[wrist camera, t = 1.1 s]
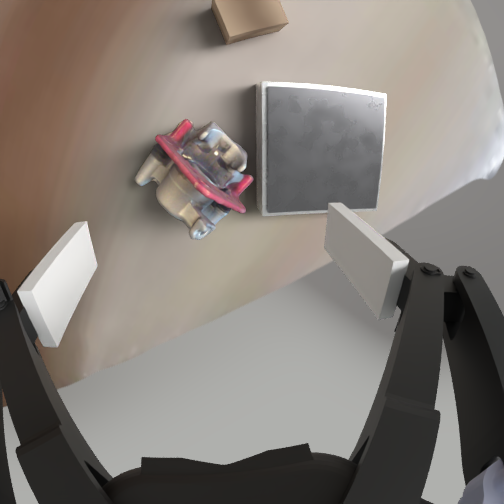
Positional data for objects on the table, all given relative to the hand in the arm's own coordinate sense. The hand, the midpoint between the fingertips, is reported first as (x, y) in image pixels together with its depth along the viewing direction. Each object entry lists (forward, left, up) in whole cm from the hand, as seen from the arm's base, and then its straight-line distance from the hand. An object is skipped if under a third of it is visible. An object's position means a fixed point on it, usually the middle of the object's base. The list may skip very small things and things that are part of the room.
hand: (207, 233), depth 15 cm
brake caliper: (-1, 0, -19) cm, 19 cm away
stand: (+13, +2, -19) cm, 23 cm away
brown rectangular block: (+5, +17, -19) cm, 26 cm away
